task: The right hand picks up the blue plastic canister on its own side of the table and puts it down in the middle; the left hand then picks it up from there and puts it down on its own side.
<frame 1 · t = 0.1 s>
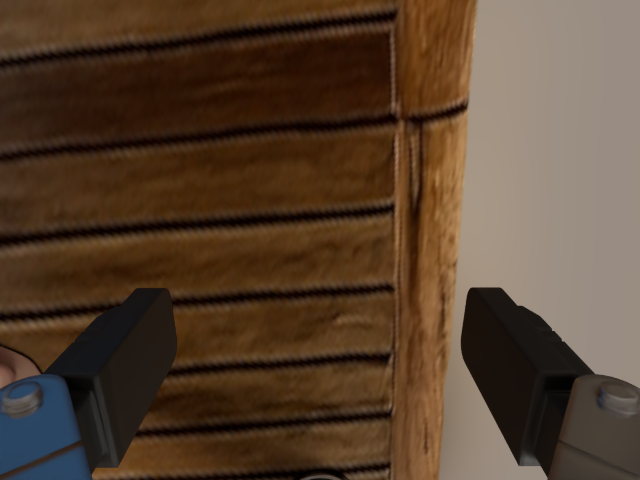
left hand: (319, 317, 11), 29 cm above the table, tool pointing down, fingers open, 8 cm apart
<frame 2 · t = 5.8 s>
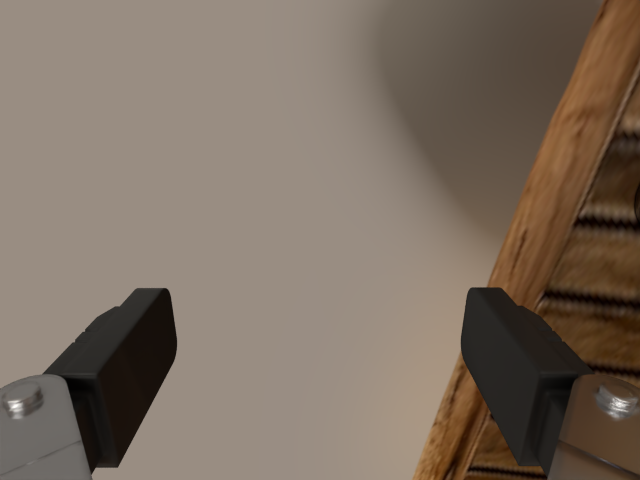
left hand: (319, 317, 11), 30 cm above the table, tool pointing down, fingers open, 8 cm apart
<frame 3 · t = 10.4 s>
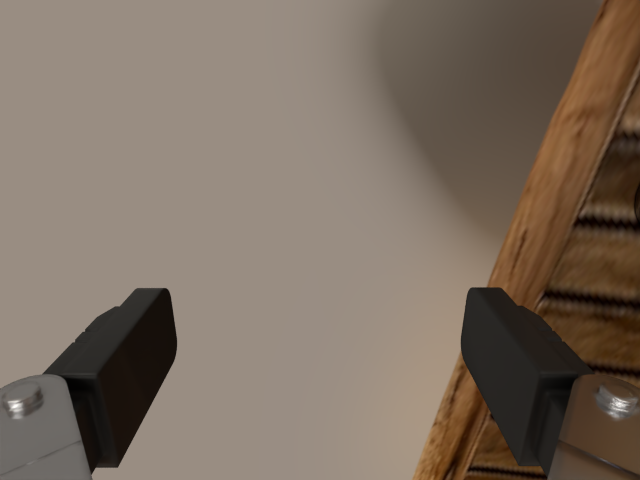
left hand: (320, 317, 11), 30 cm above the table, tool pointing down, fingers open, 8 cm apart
when the right hand's fingers open (3 cm above the table, at t = 15.1 s): canister stays where it is, on the table.
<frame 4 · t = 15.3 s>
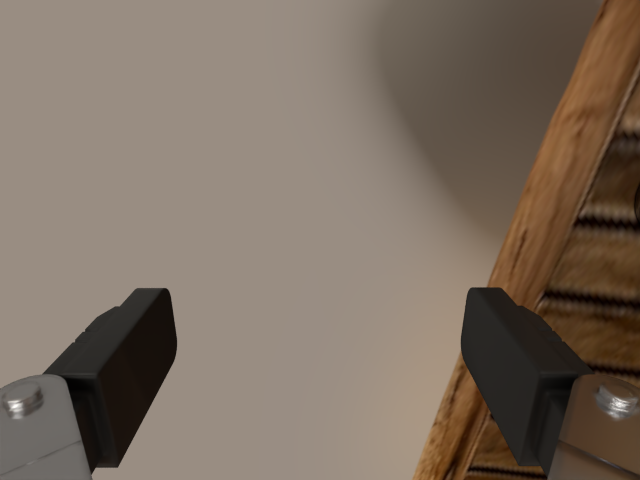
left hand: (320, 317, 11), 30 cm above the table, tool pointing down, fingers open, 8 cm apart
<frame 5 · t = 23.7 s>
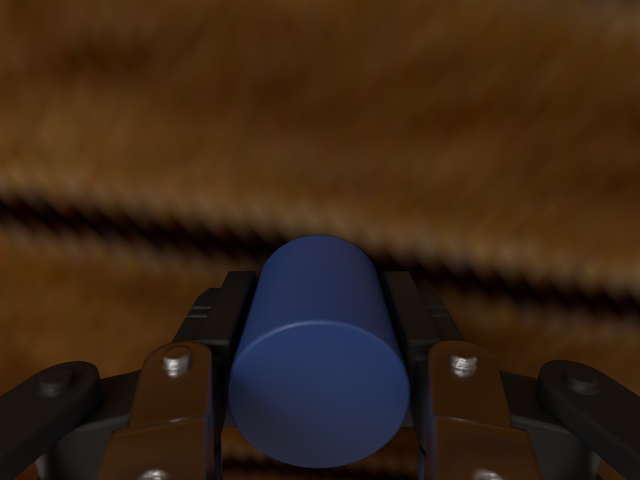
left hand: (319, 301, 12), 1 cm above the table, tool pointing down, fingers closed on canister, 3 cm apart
canister: (319, 290, 12), on the table, touching left hand
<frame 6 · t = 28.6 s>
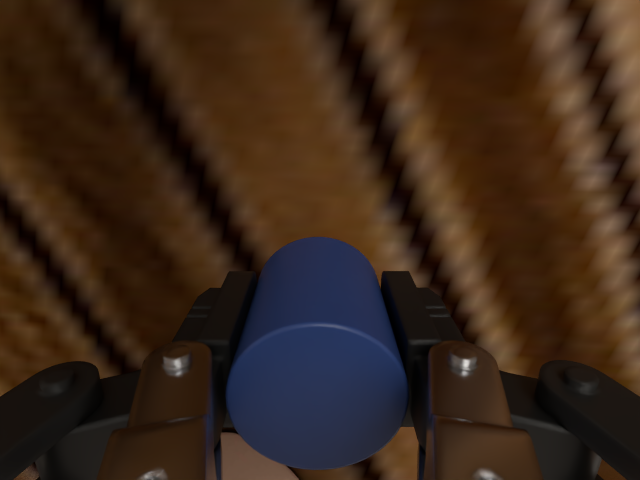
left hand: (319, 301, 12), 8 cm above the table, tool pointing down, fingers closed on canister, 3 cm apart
canister: (318, 292, 12), point 7 cm above the table, touching left hand
when the left hand's fingers open (1 cm above the table, at t = 33.5 s): canister stays where it is, on the table.
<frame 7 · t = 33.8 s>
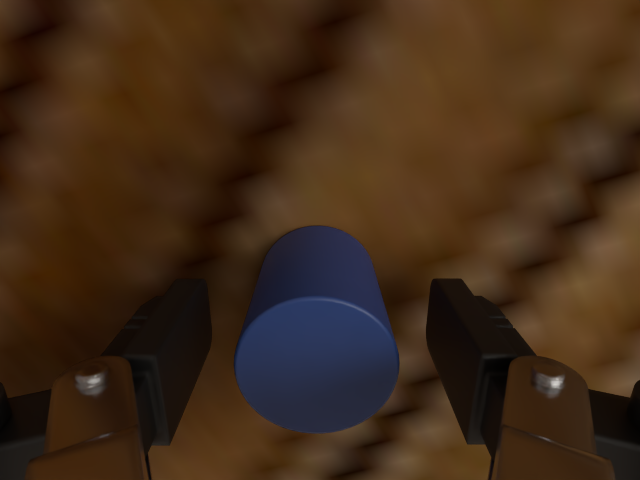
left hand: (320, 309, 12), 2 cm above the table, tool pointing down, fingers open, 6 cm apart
canister: (317, 278, 13), on the table
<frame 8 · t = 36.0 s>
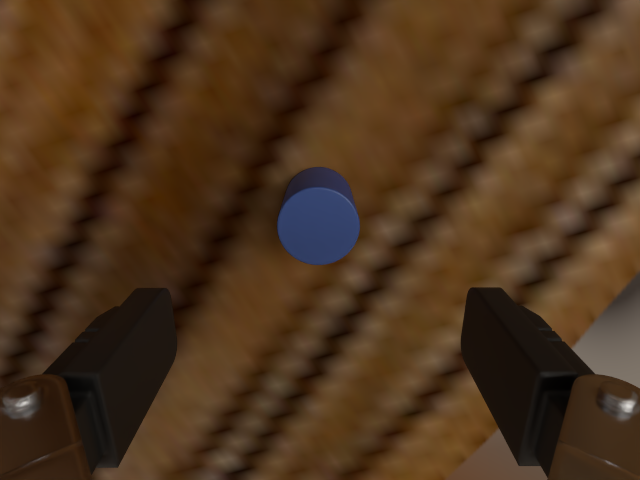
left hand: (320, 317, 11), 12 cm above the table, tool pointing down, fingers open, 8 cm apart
canister: (318, 200, 22), on the table
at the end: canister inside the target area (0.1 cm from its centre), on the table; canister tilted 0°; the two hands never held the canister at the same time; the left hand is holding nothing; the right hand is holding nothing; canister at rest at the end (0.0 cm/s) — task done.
